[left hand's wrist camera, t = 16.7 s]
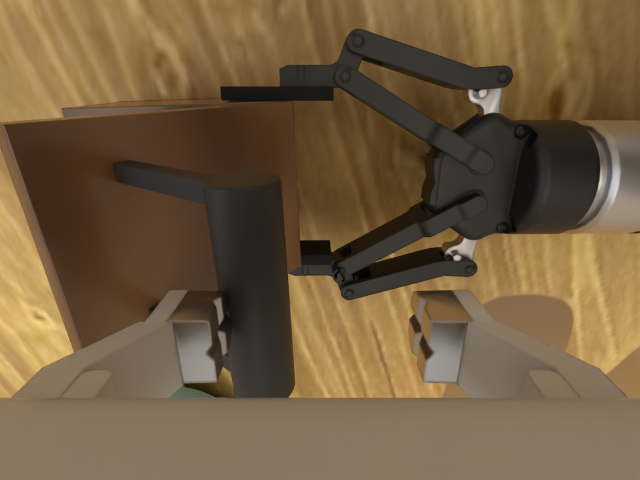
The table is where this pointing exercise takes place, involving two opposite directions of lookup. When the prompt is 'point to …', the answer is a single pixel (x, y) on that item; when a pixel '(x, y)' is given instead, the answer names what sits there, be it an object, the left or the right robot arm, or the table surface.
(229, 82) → the table surface
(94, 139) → the lid
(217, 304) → the left robot arm
